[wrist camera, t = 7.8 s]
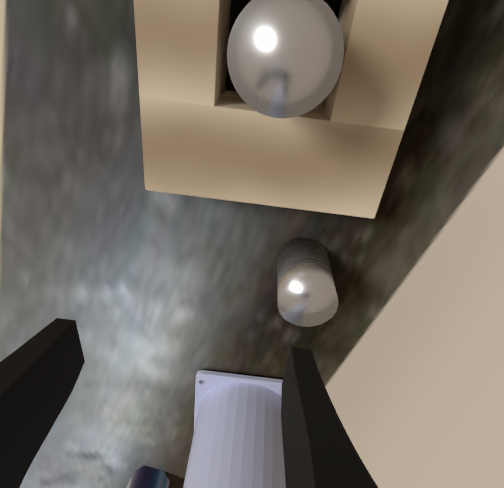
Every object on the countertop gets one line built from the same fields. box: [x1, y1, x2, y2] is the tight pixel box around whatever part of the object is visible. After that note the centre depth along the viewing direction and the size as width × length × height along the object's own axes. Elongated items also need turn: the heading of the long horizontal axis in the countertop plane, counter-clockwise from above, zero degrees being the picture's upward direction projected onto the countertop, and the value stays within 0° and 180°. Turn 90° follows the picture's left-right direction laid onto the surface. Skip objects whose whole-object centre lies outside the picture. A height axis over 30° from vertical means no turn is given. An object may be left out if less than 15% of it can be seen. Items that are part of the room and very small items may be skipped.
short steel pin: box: [277, 238, 338, 327], centre depth 19 cm, size 3×3×4 cm
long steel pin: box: [227, 0, 344, 118], centre depth 12 cm, size 3×3×7 cm
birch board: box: [134, 0, 449, 219], centre depth 13 cm, size 12×10×4 cm
